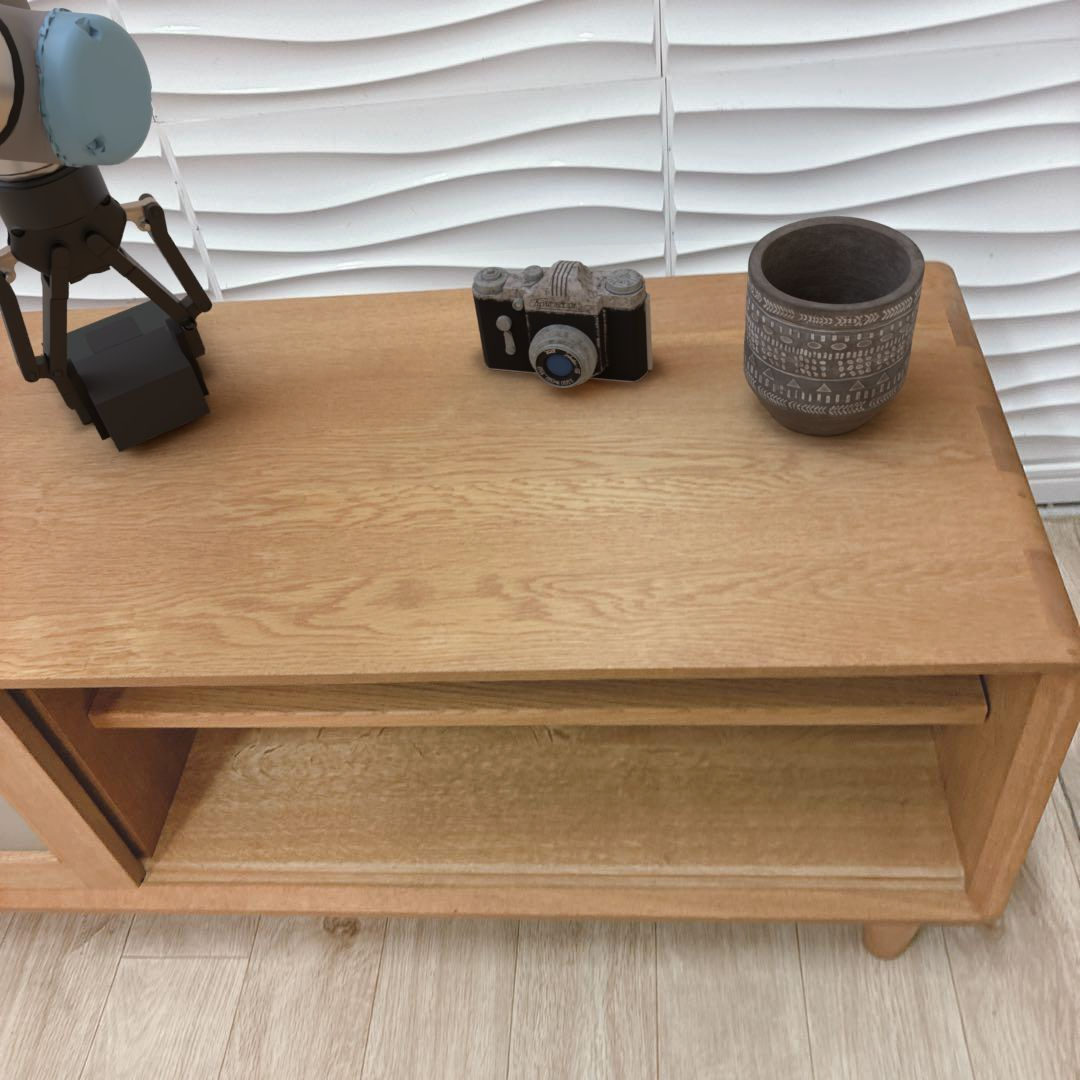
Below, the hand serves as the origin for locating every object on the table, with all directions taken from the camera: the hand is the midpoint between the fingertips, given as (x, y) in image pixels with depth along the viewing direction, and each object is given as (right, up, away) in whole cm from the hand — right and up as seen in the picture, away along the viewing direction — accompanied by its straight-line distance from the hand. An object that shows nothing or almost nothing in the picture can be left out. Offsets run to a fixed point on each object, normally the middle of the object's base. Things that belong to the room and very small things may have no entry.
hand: (152, 408), depth 91 cm
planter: (+55, 0, -6) cm, 55 cm away
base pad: (-4, +4, +6) cm, 9 cm away
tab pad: (-1, +1, +1) cm, 2 cm away
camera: (+35, +3, 0) cm, 35 cm away
